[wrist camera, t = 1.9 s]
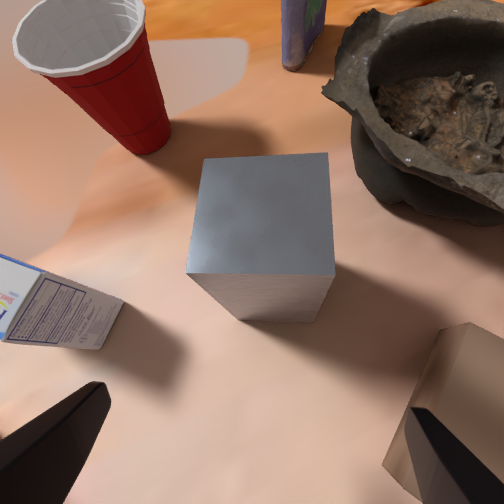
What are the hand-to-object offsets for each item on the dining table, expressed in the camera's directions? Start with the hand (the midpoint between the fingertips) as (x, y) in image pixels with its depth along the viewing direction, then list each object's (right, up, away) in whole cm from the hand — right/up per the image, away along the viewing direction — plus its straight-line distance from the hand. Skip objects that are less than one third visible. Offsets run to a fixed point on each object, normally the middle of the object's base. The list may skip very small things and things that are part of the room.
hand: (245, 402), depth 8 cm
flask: (+7, +31, +27) cm, 41 cm away
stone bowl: (+20, +14, +18) cm, 30 cm away
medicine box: (-15, -1, +16) cm, 23 cm away
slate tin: (+2, +2, +15) cm, 15 cm away
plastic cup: (-12, +18, +24) cm, 32 cm away
